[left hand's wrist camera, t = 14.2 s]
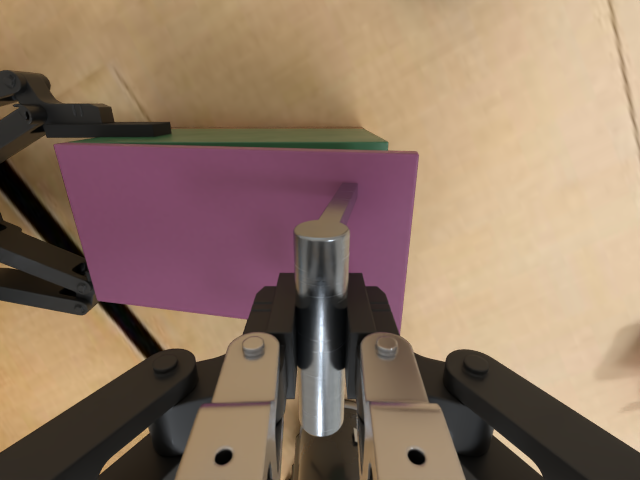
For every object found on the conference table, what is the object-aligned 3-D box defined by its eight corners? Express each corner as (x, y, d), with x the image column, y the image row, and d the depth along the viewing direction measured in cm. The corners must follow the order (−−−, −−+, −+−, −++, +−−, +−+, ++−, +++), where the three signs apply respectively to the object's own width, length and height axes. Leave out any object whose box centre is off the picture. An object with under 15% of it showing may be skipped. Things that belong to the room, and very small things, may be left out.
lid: (417, 151, 15) (440, 198, 7) (399, 328, 18) (402, 479, 11) (67, 142, 18) (-154, 168, 11) (107, 293, 21) (-39, 391, 14)
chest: (362, 127, 29) (388, 141, 18) (357, 230, 32) (377, 291, 22) (157, 127, 28) (66, 141, 18) (174, 231, 32) (106, 293, 22)
